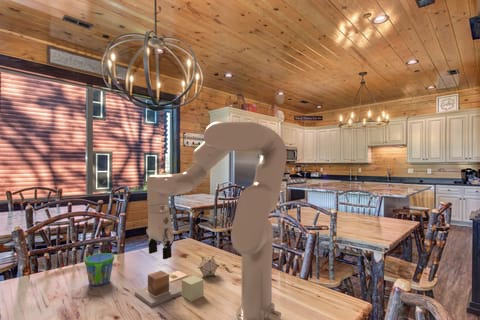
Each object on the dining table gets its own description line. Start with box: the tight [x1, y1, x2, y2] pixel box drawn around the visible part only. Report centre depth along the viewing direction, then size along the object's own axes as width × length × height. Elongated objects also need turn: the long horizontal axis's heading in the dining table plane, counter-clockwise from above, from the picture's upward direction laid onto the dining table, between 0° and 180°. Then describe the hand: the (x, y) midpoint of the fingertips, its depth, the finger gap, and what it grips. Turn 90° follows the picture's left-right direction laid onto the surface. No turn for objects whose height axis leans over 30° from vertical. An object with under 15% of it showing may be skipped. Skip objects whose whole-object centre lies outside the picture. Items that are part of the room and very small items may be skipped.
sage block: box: [181, 274, 204, 302], centre depth 99 cm, size 6×6×6 cm
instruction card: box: [168, 270, 189, 284], centre depth 115 cm, size 7×10×1 cm
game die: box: [197, 255, 220, 279], centre depth 116 cm, size 9×8×10 cm
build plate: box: [134, 283, 182, 308], centre depth 100 cm, size 12×12×1 cm
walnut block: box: [147, 270, 170, 296], centre depth 100 cm, size 6×6×6 cm
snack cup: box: [84, 252, 115, 287], centre depth 110 cm, size 16×10×10 cm
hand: (159, 255), depth 100 cm, fingers open, 9 cm apart
